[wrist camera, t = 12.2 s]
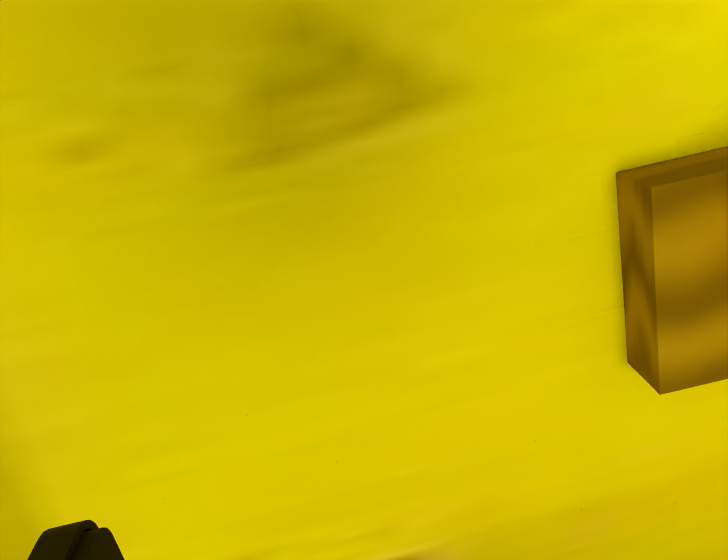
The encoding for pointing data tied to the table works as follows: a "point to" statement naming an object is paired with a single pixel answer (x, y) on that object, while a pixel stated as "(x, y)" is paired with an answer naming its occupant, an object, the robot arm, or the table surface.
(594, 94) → the table surface
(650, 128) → the table surface
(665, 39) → the table surface
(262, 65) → the table surface
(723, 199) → the walnut block
